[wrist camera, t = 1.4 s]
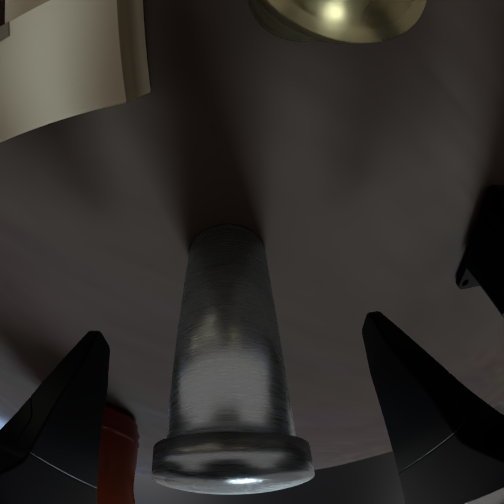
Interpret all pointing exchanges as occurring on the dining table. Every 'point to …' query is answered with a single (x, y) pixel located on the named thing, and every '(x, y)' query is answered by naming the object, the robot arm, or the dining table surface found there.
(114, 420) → the mug
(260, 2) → the short pin
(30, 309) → the dining table surface
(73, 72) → the socket board
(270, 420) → the long pin
